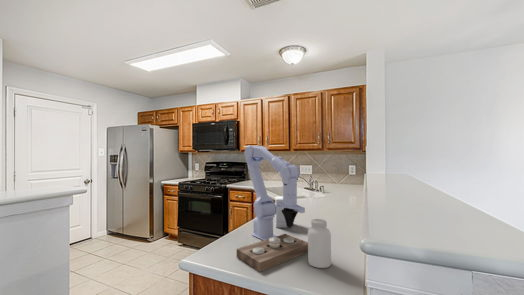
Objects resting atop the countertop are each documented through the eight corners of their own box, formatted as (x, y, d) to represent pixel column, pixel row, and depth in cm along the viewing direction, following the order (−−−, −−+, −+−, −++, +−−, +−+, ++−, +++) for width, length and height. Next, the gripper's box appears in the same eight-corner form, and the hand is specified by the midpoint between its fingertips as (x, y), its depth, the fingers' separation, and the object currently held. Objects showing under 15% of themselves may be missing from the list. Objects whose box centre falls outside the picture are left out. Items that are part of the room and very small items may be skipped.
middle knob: (266, 247, 89) (266, 239, 89) (274, 244, 92) (274, 236, 92) (274, 251, 86) (274, 242, 86) (282, 248, 88) (282, 239, 88)
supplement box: (292, 228, 119) (293, 199, 120) (275, 227, 120) (275, 199, 120) (290, 222, 129) (291, 196, 129) (275, 222, 129) (275, 196, 129)
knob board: (236, 256, 86) (236, 248, 86) (285, 240, 102) (285, 233, 102) (259, 271, 75) (259, 262, 75) (310, 250, 91) (310, 243, 91)
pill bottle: (324, 271, 75) (322, 225, 76) (303, 263, 81) (302, 220, 81) (335, 263, 81) (334, 220, 81) (315, 256, 86) (314, 216, 87)
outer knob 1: (250, 258, 84) (250, 249, 84) (259, 255, 87) (259, 246, 87) (257, 262, 80) (257, 253, 80) (266, 259, 83) (266, 250, 83)
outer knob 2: (281, 247, 94) (281, 239, 94) (288, 244, 97) (288, 237, 97) (288, 250, 91) (289, 242, 91) (296, 248, 93) (296, 240, 93)
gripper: (271, 192, 98) (271, 224, 98) (296, 197, 87) (296, 233, 87) (283, 191, 103) (282, 221, 102) (308, 195, 91) (308, 230, 91)
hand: (289, 226), depth 95 cm, fingers closed
